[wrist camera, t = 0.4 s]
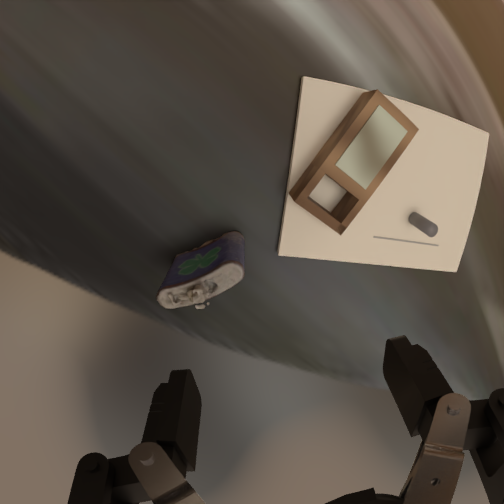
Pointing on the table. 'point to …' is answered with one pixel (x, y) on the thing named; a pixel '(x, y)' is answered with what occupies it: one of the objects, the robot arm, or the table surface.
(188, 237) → the table surface
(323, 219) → the frame
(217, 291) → the flask
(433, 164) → the wall board
